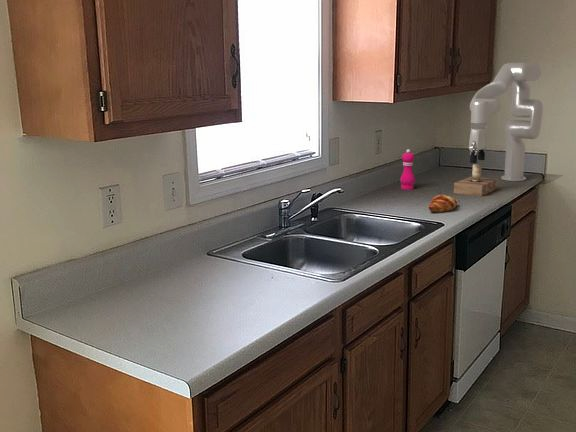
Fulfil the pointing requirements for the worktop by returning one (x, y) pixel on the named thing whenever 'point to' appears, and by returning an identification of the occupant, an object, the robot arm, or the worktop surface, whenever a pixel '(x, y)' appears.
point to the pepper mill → (407, 171)
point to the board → (475, 186)
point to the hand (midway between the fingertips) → (477, 161)
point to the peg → (476, 173)
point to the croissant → (442, 203)
